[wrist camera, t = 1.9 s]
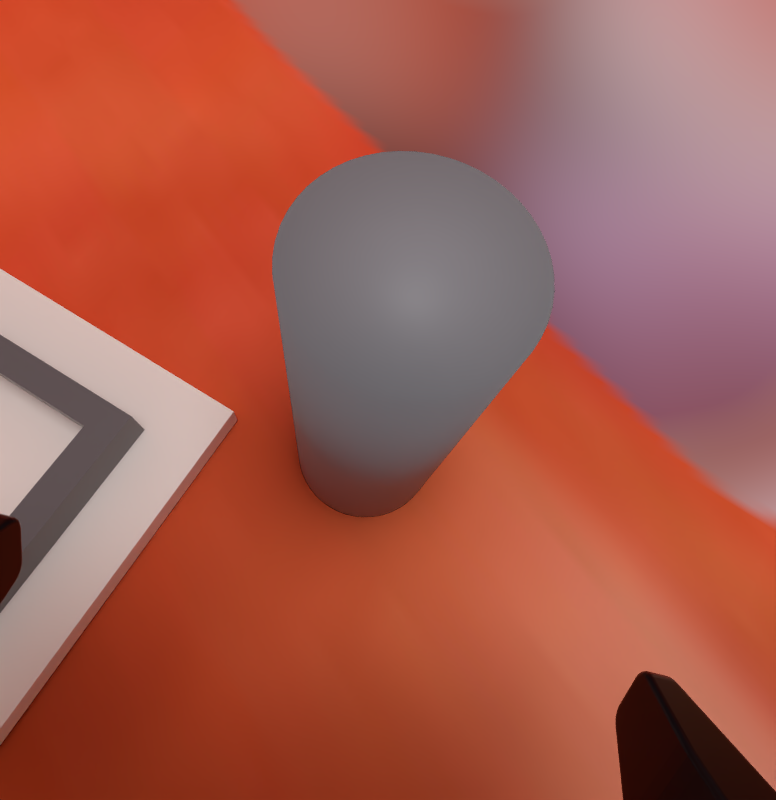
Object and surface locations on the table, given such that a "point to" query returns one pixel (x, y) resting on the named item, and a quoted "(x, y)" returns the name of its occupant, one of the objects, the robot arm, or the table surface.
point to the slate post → (401, 318)
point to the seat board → (82, 474)
